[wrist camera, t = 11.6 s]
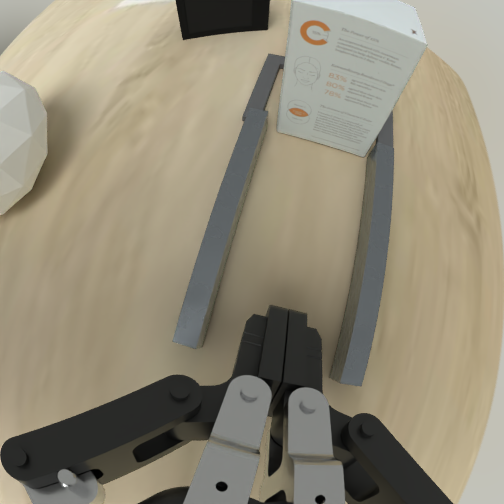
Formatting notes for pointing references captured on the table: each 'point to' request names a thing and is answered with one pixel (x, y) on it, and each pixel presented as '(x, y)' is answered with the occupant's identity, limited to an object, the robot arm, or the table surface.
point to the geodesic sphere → (20, 139)
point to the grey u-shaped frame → (365, 267)
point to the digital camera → (221, 16)
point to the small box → (346, 69)
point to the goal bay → (266, 84)
